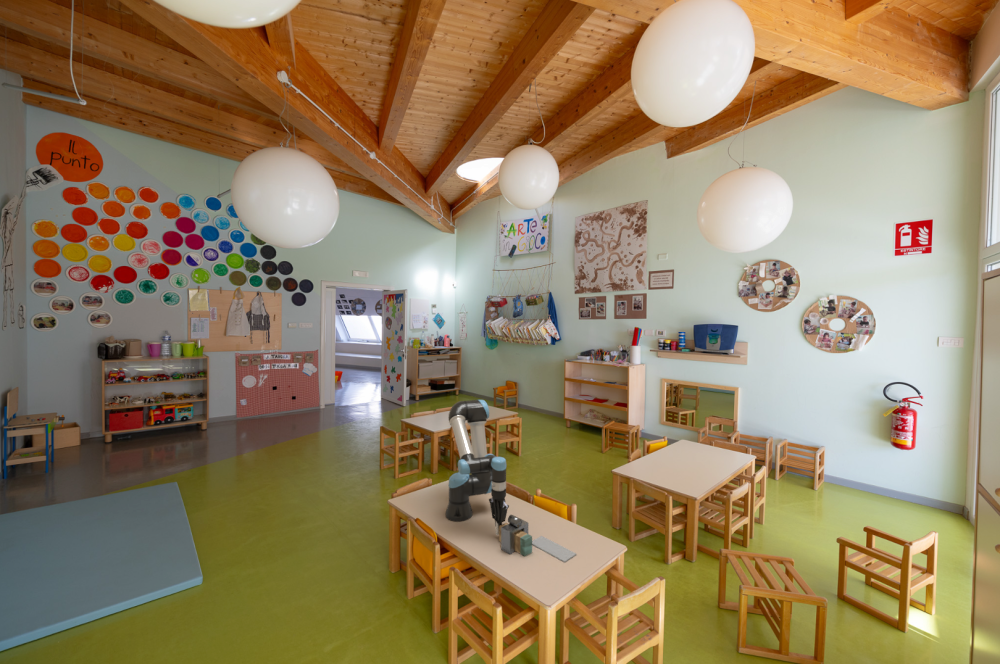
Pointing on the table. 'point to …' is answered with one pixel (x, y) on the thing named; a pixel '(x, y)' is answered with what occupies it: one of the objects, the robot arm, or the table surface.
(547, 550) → the mat
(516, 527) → the housing
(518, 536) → the plug
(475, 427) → the robot arm
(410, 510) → the table surface
